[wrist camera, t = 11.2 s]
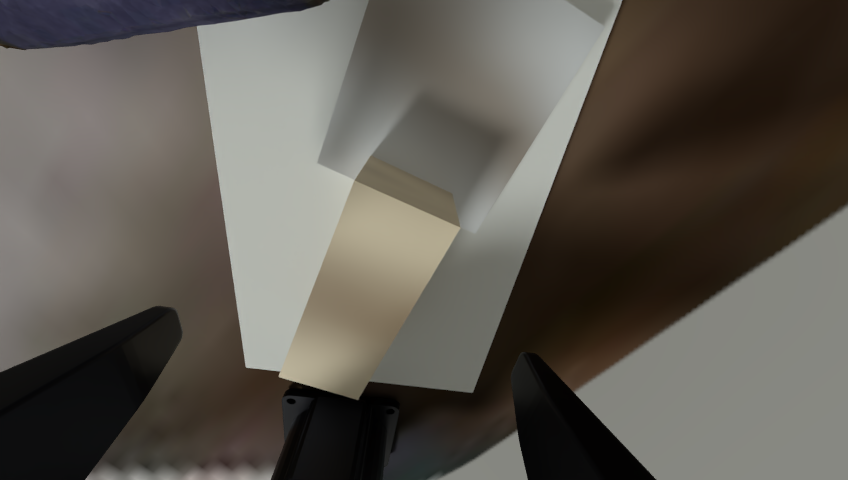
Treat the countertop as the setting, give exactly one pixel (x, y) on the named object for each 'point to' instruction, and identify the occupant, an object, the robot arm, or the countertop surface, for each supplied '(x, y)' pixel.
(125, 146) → the countertop surface
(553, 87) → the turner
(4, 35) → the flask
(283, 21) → the rest mat
